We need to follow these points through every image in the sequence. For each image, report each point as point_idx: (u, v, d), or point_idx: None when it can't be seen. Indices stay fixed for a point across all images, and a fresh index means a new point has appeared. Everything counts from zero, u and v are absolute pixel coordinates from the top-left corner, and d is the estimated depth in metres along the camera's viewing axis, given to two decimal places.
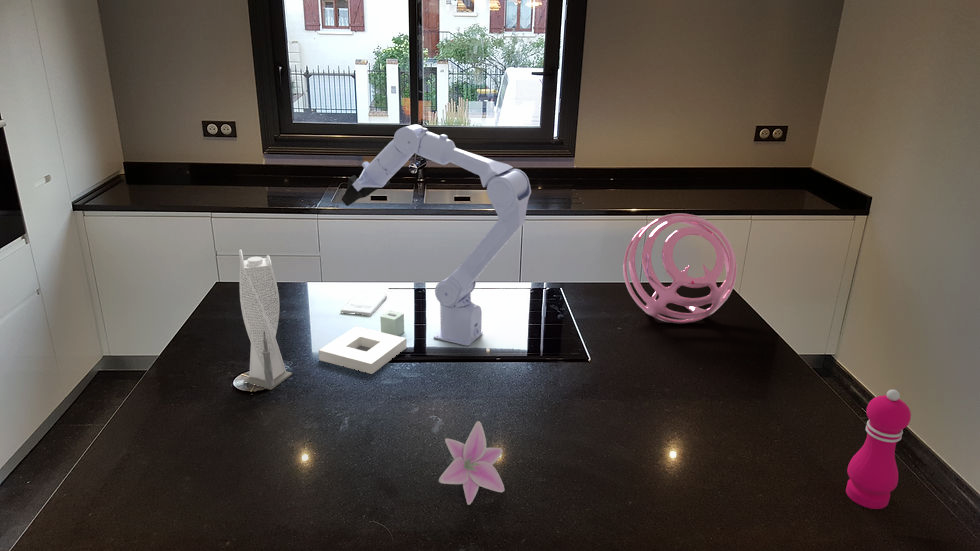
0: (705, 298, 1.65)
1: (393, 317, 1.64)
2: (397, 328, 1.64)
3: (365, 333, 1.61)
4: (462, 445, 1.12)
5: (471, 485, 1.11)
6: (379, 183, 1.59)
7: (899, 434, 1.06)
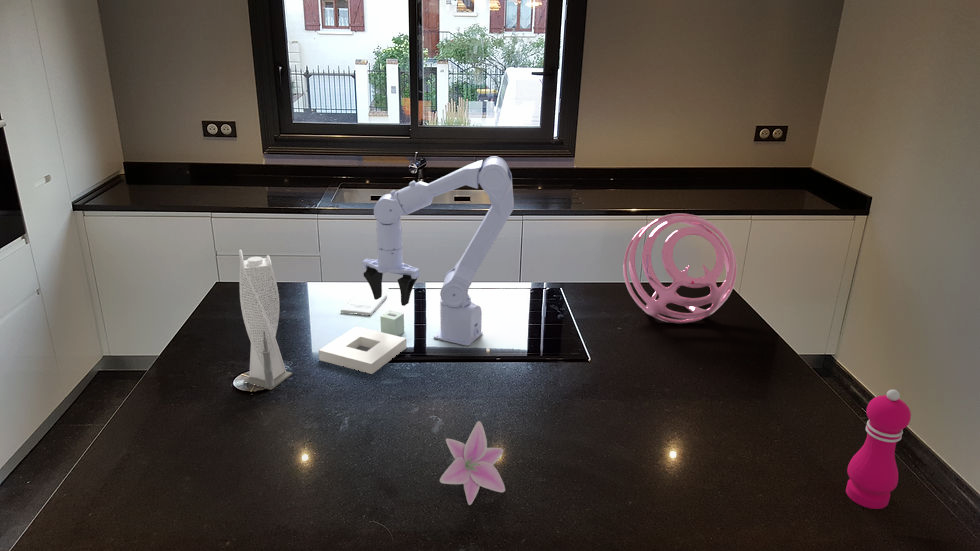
0: (705, 298, 1.65)
1: (393, 317, 1.64)
2: (397, 327, 1.64)
3: (365, 333, 1.61)
4: (463, 445, 1.12)
5: (472, 485, 1.11)
6: None
7: (899, 434, 1.06)
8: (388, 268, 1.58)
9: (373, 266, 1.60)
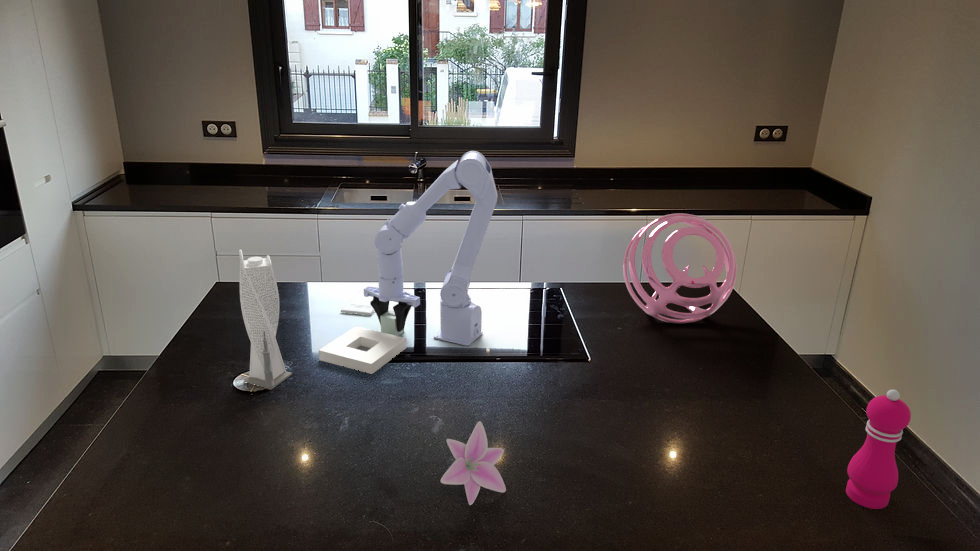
0: (705, 298, 1.65)
1: (393, 317, 1.64)
2: None
3: (365, 333, 1.61)
4: (463, 445, 1.12)
5: (472, 485, 1.11)
6: None
7: (899, 434, 1.06)
8: (389, 297, 1.60)
9: (374, 294, 1.63)
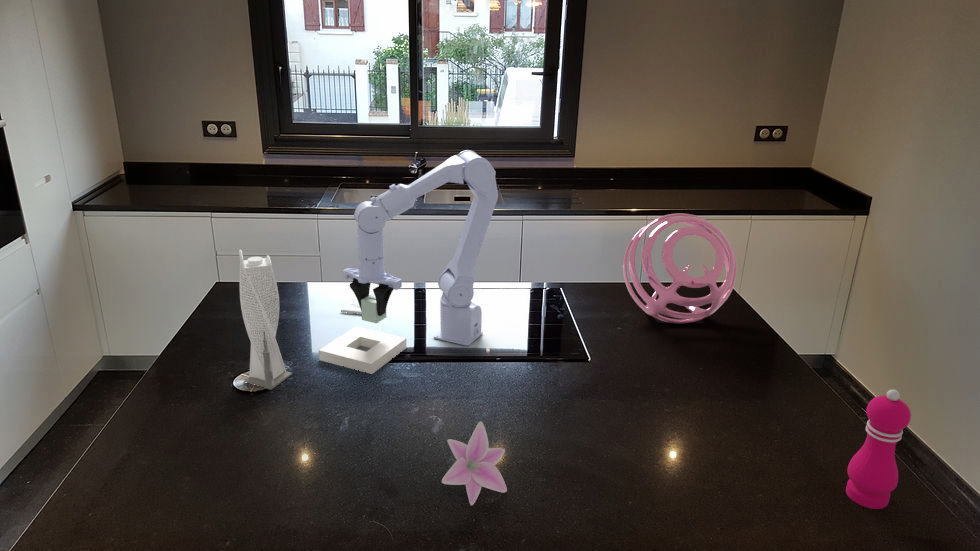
0: (705, 298, 1.65)
1: (374, 300, 1.55)
2: None
3: (365, 333, 1.61)
4: (464, 446, 1.11)
5: (474, 486, 1.11)
6: None
7: (899, 434, 1.06)
8: (369, 278, 1.51)
9: (354, 276, 1.54)
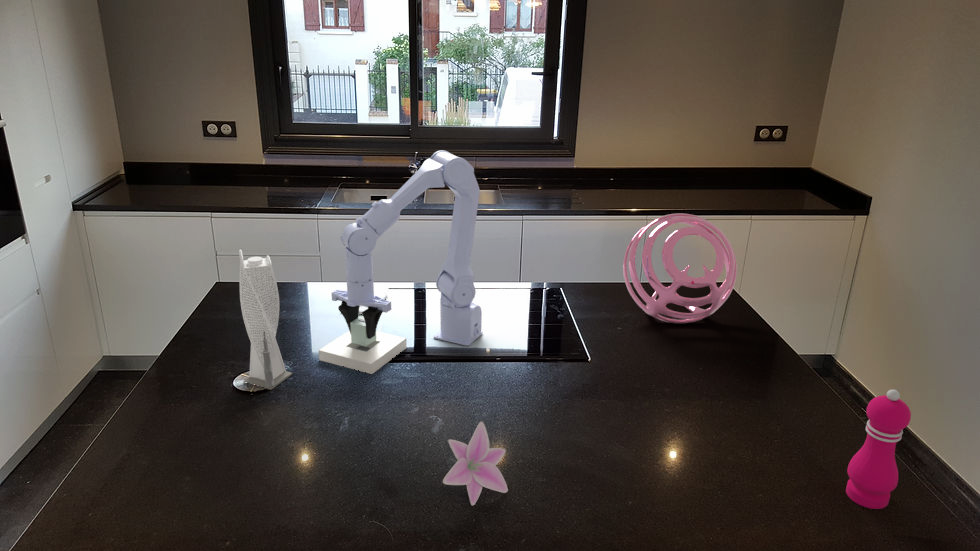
0: (705, 298, 1.65)
1: (364, 323, 1.53)
2: None
3: None
4: (465, 446, 1.11)
5: (475, 486, 1.10)
6: None
7: (899, 434, 1.06)
8: (358, 301, 1.49)
9: (343, 298, 1.51)
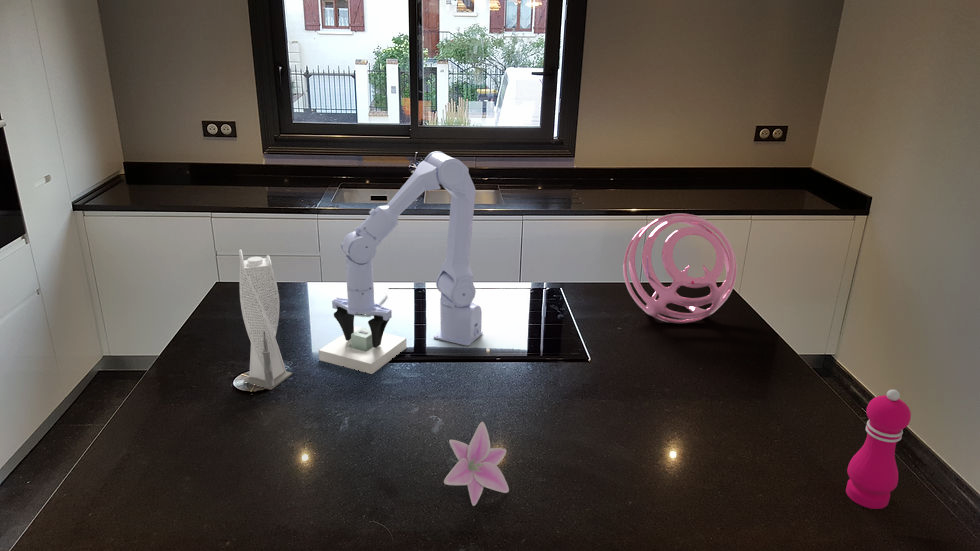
0: (705, 298, 1.65)
1: (364, 335, 1.54)
2: (368, 346, 1.54)
3: None
4: (466, 446, 1.11)
5: (476, 486, 1.10)
6: None
7: (899, 434, 1.06)
8: (358, 309, 1.49)
9: (343, 306, 1.52)
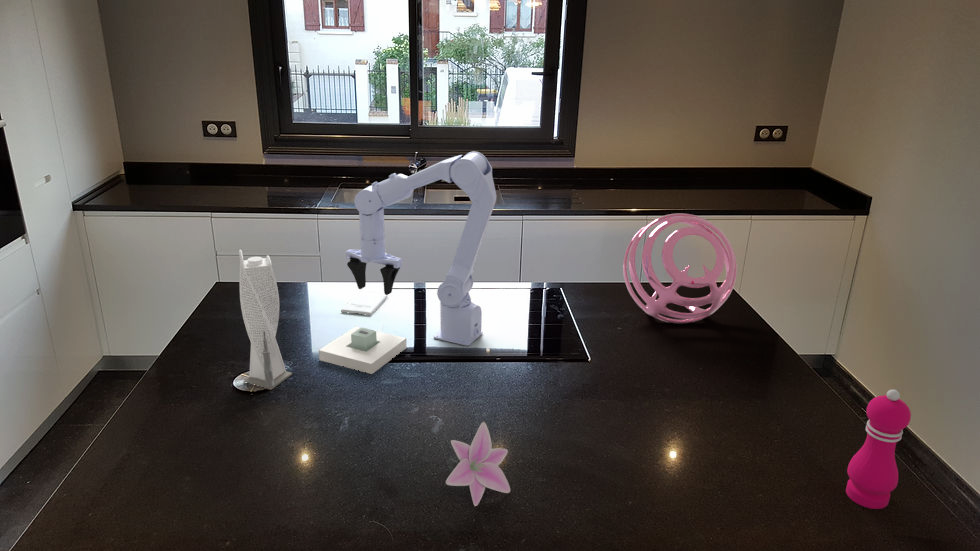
0: (705, 298, 1.65)
1: (364, 335, 1.54)
2: (368, 346, 1.54)
3: None
4: (468, 446, 1.11)
5: (477, 486, 1.10)
6: None
7: (899, 434, 1.06)
8: (371, 258, 1.61)
9: (356, 256, 1.64)
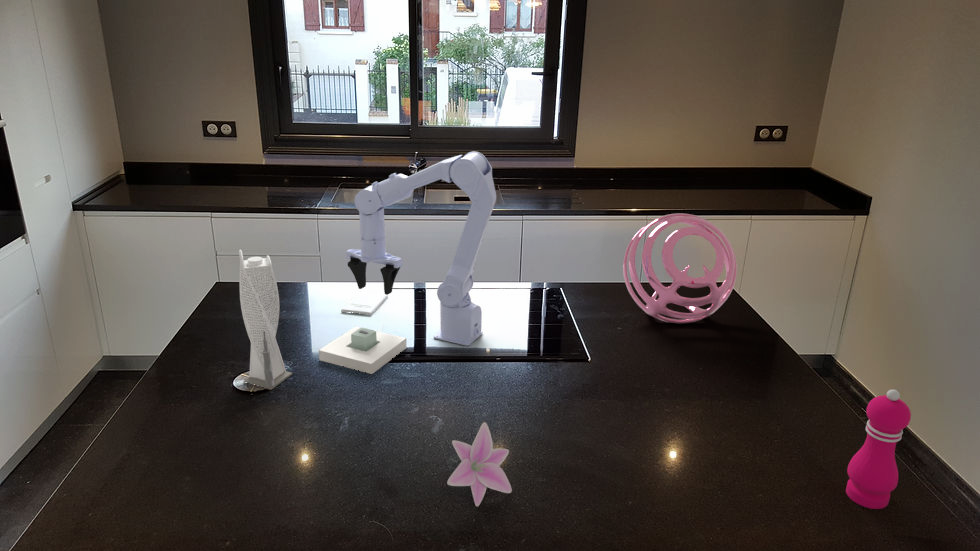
0: (705, 298, 1.65)
1: (364, 335, 1.54)
2: (368, 346, 1.54)
3: None
4: (469, 447, 1.11)
5: (479, 487, 1.10)
6: None
7: (899, 434, 1.06)
8: (371, 258, 1.61)
9: (357, 256, 1.64)
